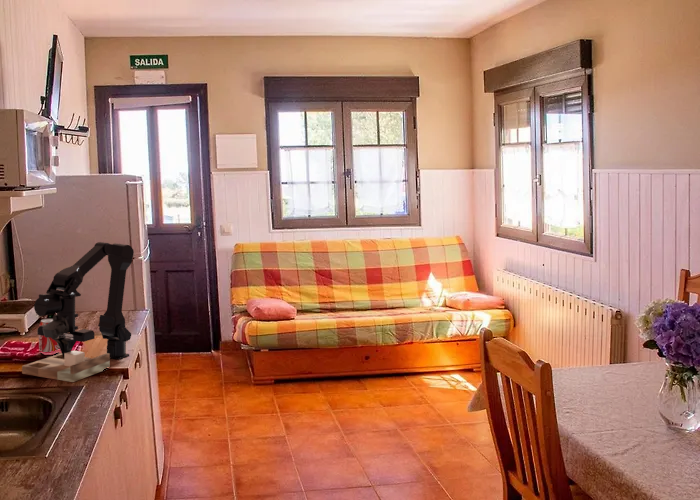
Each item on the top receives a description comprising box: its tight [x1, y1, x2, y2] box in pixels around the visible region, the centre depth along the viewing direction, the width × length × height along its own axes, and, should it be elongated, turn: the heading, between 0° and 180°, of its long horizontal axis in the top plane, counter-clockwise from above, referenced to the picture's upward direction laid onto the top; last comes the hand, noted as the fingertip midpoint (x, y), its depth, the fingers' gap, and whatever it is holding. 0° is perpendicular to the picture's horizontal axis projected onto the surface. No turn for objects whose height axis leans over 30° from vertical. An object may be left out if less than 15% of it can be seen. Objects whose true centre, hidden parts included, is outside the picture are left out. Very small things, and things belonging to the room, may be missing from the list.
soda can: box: [38, 318, 60, 352], centre depth 282 cm, size 7×7×12 cm
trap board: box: [21, 352, 111, 383], centre depth 263 cm, size 18×20×5 cm
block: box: [64, 350, 86, 366], centre depth 261 cm, size 4×4×4 cm
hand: (65, 358), depth 263 cm, fingers closed
